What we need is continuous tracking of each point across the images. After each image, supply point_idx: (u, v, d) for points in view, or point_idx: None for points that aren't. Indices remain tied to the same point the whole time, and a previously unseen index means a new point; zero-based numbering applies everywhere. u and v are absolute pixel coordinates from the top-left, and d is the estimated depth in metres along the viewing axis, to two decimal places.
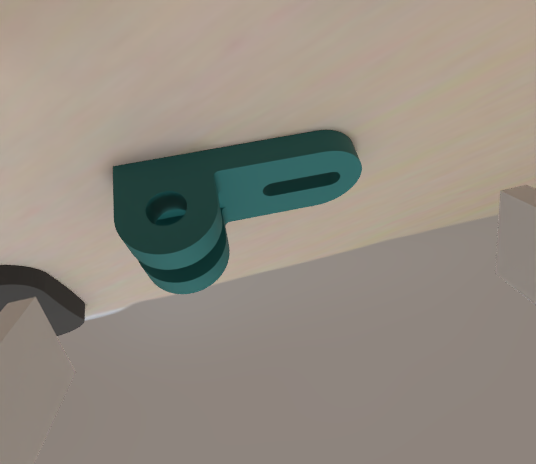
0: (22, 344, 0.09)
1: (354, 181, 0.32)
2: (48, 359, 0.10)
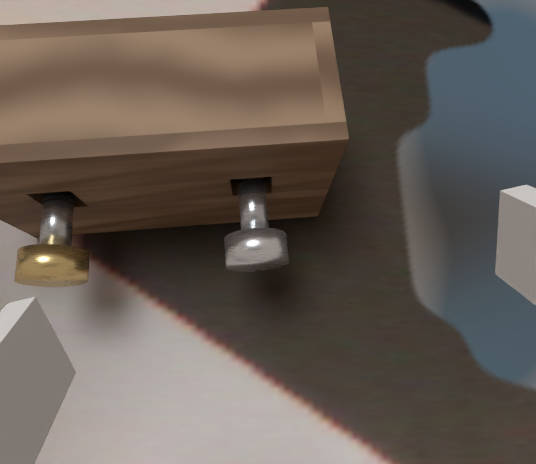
0: (21, 344, 0.09)
1: None
2: (48, 359, 0.10)
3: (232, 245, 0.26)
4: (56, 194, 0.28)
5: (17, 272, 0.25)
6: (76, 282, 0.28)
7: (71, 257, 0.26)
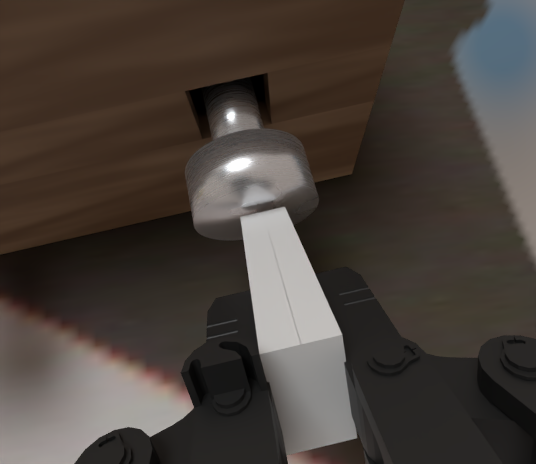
0: None
1: None
2: None
3: (198, 175, 0.13)
4: None
5: None
6: None
7: None
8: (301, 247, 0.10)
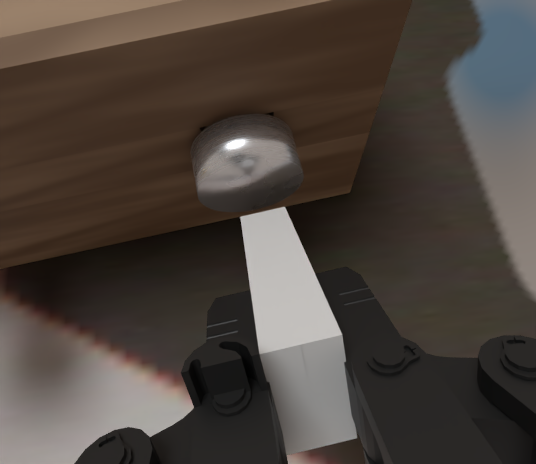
0: None
1: None
2: None
3: (202, 153, 0.15)
4: None
5: None
6: None
7: None
8: (301, 247, 0.10)
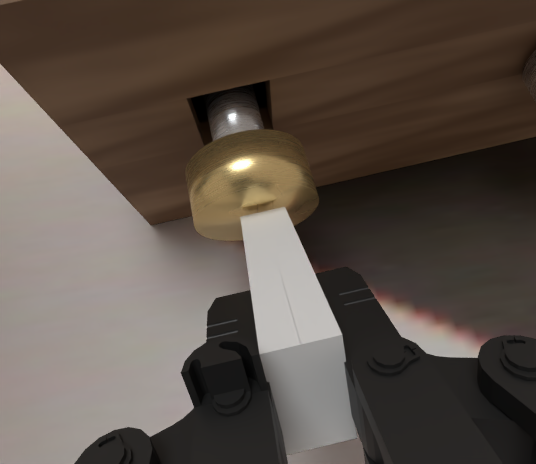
0: None
1: None
2: None
3: None
4: None
5: (206, 194, 0.12)
6: None
7: (299, 156, 0.13)
8: (301, 247, 0.10)
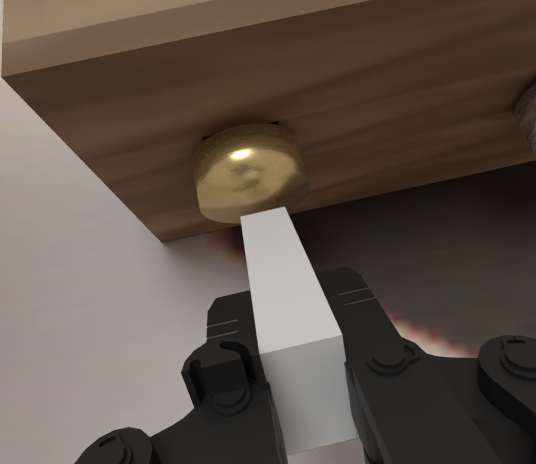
0: None
1: None
2: None
3: None
4: None
5: (210, 178, 0.14)
6: (283, 204, 0.17)
7: (292, 146, 0.15)
8: (301, 247, 0.10)
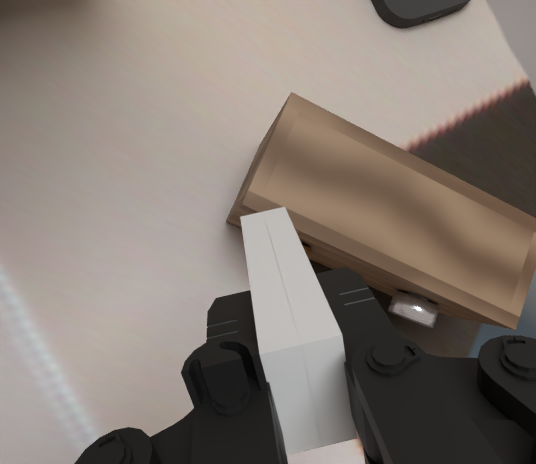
0: None
1: None
2: None
3: (408, 303, 0.37)
4: None
5: None
6: None
7: (308, 258, 0.36)
8: (301, 247, 0.10)
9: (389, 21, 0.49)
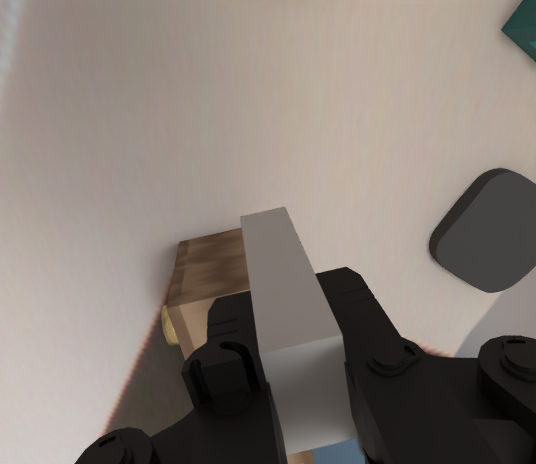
0: None
1: None
2: None
3: None
4: None
5: (165, 324, 0.41)
6: None
7: None
8: (301, 247, 0.10)
9: (430, 246, 0.52)
